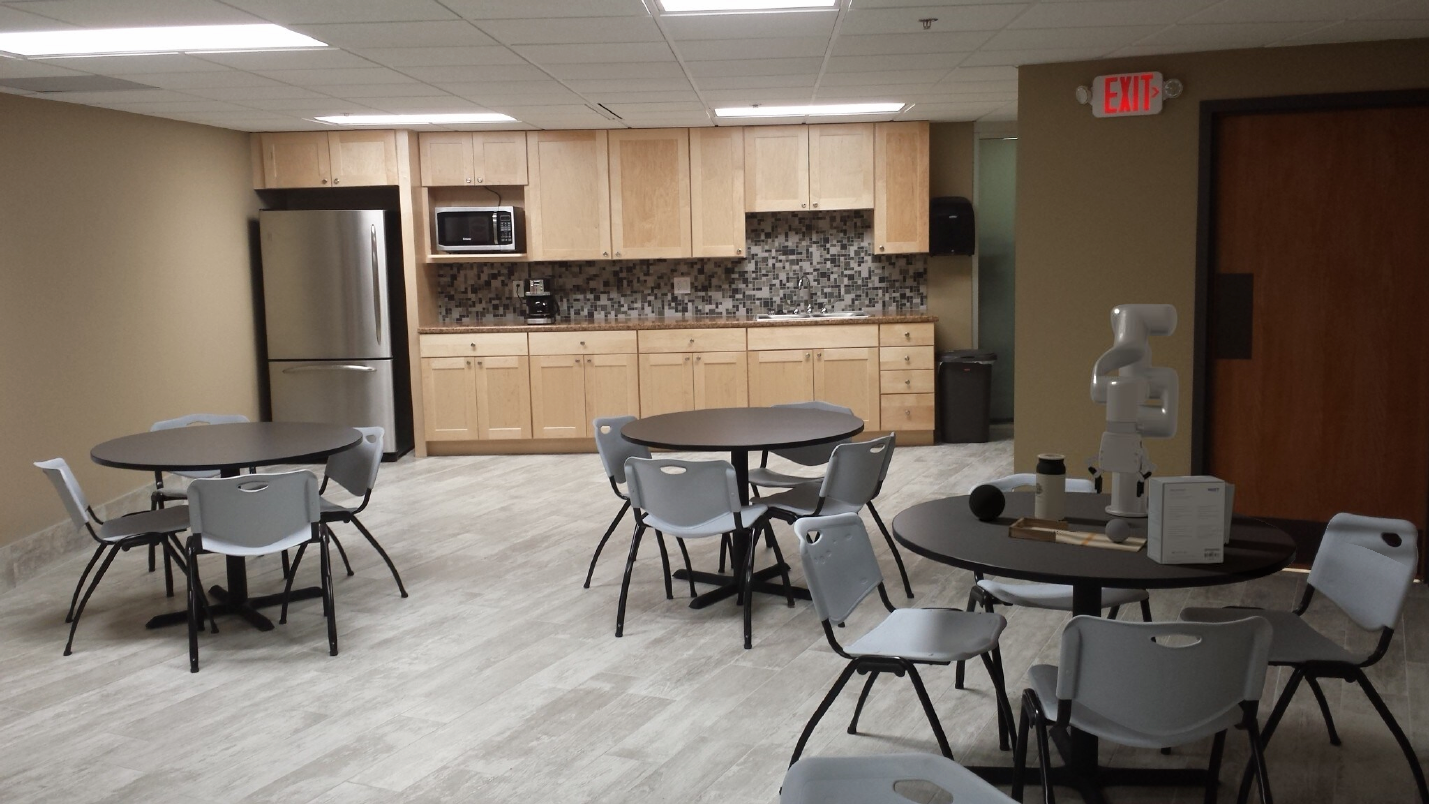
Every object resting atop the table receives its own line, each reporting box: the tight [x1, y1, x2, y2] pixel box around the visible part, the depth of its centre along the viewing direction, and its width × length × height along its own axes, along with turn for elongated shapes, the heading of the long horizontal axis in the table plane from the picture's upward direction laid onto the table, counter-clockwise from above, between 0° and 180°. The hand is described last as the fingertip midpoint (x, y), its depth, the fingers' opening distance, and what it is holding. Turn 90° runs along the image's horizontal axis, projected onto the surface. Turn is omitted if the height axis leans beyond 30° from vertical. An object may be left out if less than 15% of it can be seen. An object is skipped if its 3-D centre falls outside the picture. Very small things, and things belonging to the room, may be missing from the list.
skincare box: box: [1223, 482, 1236, 545], centre depth 276 cm, size 8×7×16 cm
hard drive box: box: [1147, 475, 1227, 565], centre depth 257 cm, size 16×8×20 cm, turn 92°
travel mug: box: [1034, 453, 1067, 521], centre depth 302 cm, size 8×8×18 cm
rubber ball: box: [1104, 518, 1131, 542], centre depth 275 cm, size 6×6×6 cm
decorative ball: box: [968, 483, 1006, 521], centre depth 302 cm, size 10×10×10 cm
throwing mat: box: [1008, 516, 1148, 553], centre depth 280 cm, size 14×32×3 cm, turn 59°
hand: (1118, 494), depth 273 cm, fingers open, 9 cm apart
